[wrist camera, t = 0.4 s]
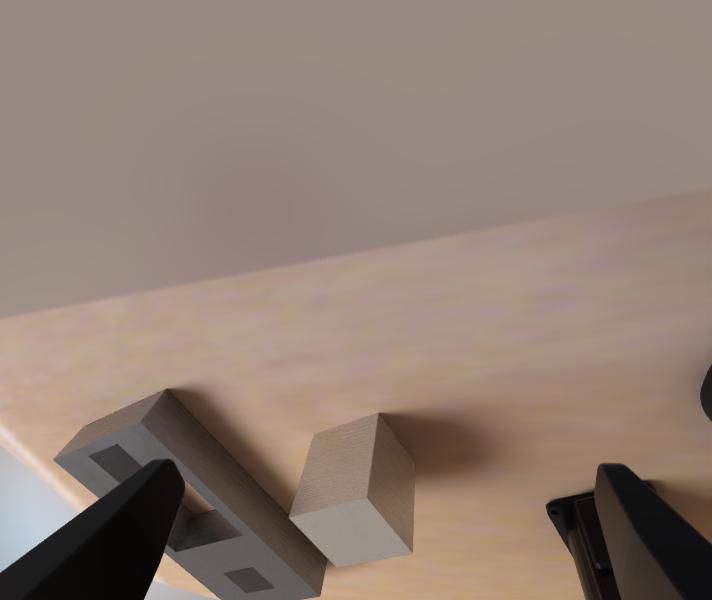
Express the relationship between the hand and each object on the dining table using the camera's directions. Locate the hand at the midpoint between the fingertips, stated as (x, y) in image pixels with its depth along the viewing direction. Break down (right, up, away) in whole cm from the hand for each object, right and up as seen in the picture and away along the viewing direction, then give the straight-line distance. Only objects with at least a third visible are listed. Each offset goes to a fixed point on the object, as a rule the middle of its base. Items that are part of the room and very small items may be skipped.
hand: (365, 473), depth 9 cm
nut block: (0, -6, +19) cm, 20 cm away
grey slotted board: (-12, -12, +24) cm, 29 cm away
